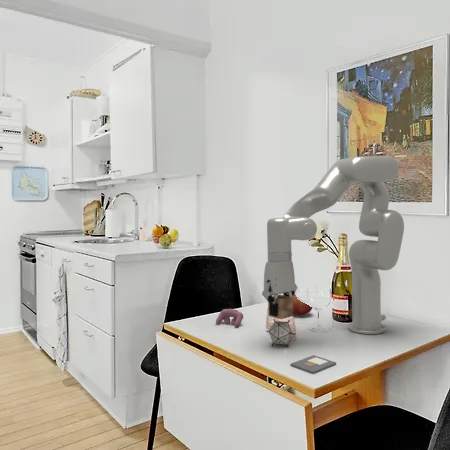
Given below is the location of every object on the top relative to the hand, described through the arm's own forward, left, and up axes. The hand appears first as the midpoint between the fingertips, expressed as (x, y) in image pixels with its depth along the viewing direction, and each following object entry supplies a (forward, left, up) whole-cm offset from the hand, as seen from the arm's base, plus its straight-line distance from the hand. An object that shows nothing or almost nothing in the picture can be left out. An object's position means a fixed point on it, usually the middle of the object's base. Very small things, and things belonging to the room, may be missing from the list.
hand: (280, 313), depth 138 cm
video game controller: (-3, -29, -11) cm, 31 cm away
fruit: (-32, -20, -10) cm, 39 cm away
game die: (0, 0, -10) cm, 10 cm away
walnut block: (0, 0, -1) cm, 1 cm away
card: (+6, +18, -10) cm, 22 cm away
